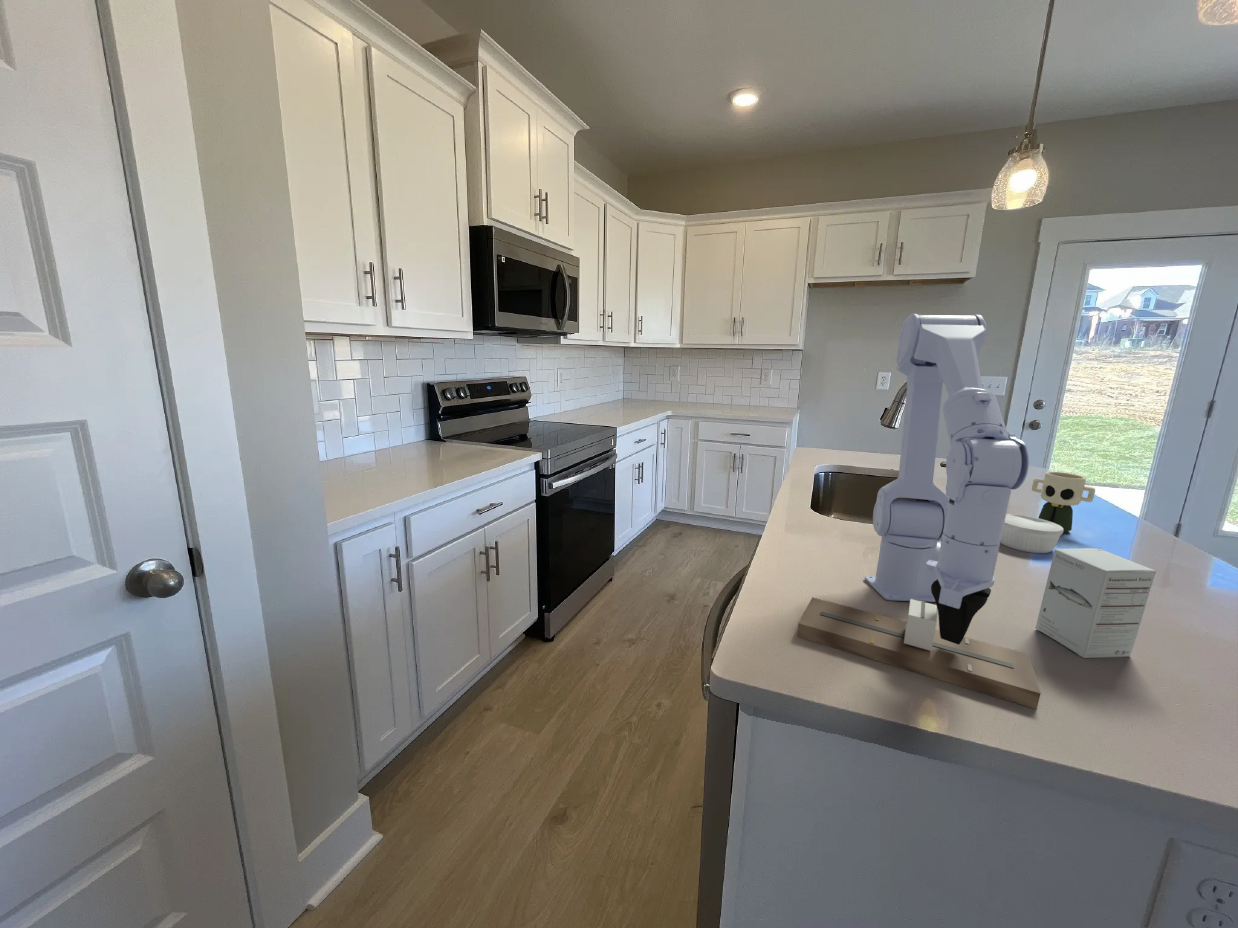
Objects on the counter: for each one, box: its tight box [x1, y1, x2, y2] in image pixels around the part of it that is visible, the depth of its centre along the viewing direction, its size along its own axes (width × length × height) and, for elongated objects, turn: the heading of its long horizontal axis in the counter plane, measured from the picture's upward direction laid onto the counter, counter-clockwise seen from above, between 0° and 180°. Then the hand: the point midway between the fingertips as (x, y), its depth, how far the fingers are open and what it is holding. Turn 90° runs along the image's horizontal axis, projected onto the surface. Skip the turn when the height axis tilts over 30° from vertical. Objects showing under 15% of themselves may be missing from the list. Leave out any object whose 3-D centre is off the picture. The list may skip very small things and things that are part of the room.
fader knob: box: [904, 599, 938, 651], centre depth 65 cm, size 3×5×4 cm, turn 148°
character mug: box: [1031, 471, 1096, 533], centre depth 116 cm, size 11×7×13 cm, turn 37°
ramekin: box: [1000, 513, 1064, 554], centre depth 106 cm, size 11×11×5 cm
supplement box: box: [1035, 547, 1157, 659], centre depth 69 cm, size 7×7×13 cm
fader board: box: [796, 597, 1042, 710], centre depth 67 cm, size 26×9×2 cm, turn 58°
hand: (951, 639), depth 64 cm, fingers closed
